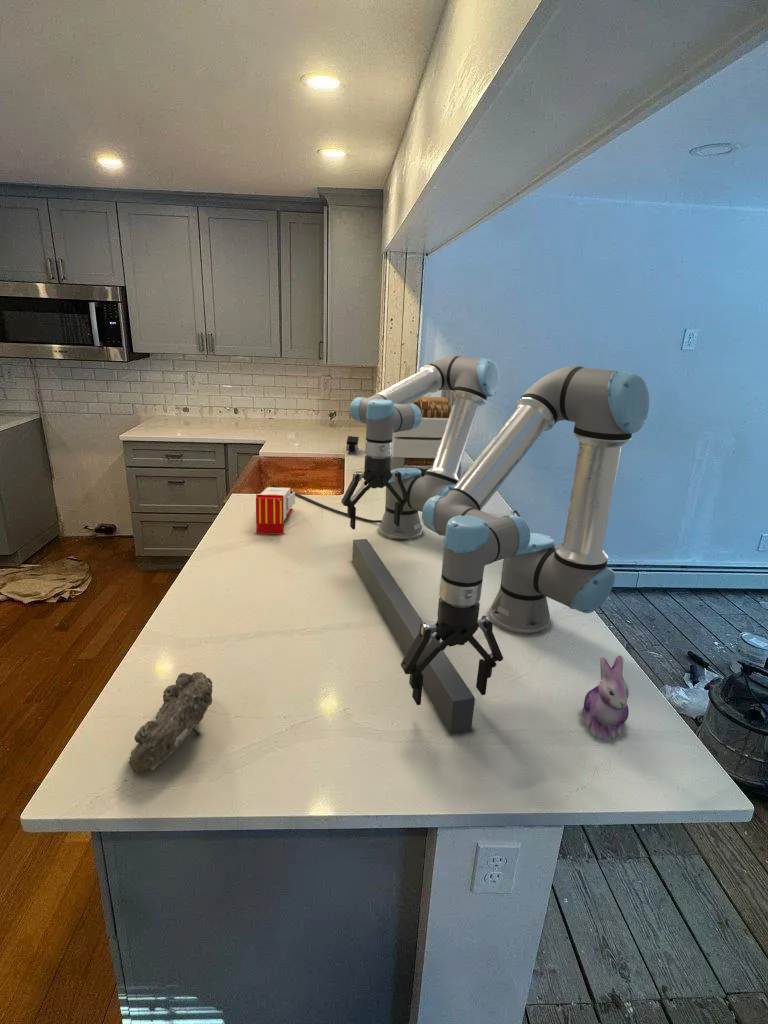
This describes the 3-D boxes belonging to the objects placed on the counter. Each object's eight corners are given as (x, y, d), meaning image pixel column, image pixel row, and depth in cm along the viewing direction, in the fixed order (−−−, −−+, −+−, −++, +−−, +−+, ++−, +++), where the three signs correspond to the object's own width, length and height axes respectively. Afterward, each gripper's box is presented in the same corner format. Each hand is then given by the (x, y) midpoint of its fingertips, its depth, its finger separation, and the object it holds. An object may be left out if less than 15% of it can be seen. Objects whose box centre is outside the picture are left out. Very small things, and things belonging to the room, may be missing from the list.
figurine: (608, 750, 104) (623, 681, 99) (567, 715, 113) (579, 651, 107) (643, 734, 108) (659, 668, 103) (601, 702, 117) (614, 640, 112)
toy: (297, 482, 219) (286, 496, 190) (297, 516, 222) (286, 535, 193) (265, 481, 219) (249, 495, 189) (265, 515, 221) (250, 534, 192)
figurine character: (358, 457, 303) (358, 448, 316) (358, 444, 299) (359, 435, 313) (345, 457, 302) (346, 447, 316) (345, 443, 299) (347, 434, 313)
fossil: (162, 673, 113) (214, 640, 108) (196, 704, 116) (248, 673, 111) (102, 765, 93) (163, 730, 88) (145, 799, 96) (206, 767, 91)
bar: (352, 561, 176) (352, 539, 174) (366, 560, 178) (366, 538, 175) (449, 734, 106) (453, 701, 104) (471, 730, 108) (475, 697, 105)
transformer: (382, 463, 289) (386, 382, 275) (445, 464, 293) (451, 384, 279) (390, 482, 257) (394, 392, 243) (460, 483, 261) (468, 394, 247)
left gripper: (338, 460, 152) (336, 533, 159) (424, 457, 160) (418, 527, 167) (331, 453, 159) (330, 524, 166) (414, 451, 167) (409, 518, 174)
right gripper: (401, 616, 97) (394, 717, 104) (530, 602, 104) (515, 698, 111) (388, 595, 104) (382, 692, 111) (510, 584, 111) (497, 675, 118)
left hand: (374, 526), depth 167 cm, fingers open, 13 cm apart
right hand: (449, 695), depth 111 cm, fingers open, 13 cm apart
